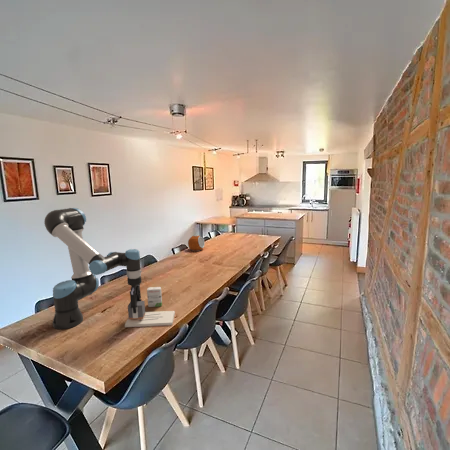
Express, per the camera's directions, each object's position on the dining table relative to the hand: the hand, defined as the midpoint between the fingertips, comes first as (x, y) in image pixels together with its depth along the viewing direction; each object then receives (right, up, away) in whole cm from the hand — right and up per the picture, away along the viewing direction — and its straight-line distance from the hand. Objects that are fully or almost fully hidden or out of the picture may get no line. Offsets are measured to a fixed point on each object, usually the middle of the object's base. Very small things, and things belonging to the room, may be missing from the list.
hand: (136, 314), depth 160 cm
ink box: (+6, 0, +20) cm, 21 cm away
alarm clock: (+18, +23, +161) cm, 164 cm away
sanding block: (0, -1, 0) cm, 1 cm away
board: (+8, -3, +1) cm, 9 cm away
